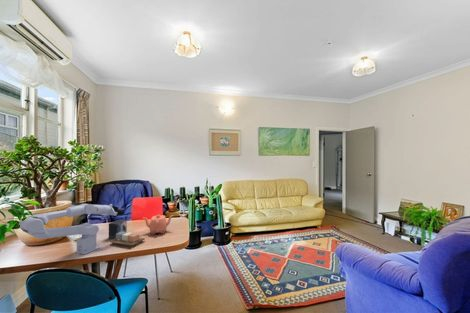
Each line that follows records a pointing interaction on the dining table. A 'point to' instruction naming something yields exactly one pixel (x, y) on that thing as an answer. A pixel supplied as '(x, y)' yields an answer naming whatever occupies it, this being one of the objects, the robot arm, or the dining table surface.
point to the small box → (117, 228)
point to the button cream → (126, 236)
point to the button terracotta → (133, 237)
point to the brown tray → (126, 243)
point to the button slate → (120, 235)
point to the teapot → (158, 224)
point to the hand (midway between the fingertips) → (121, 210)
